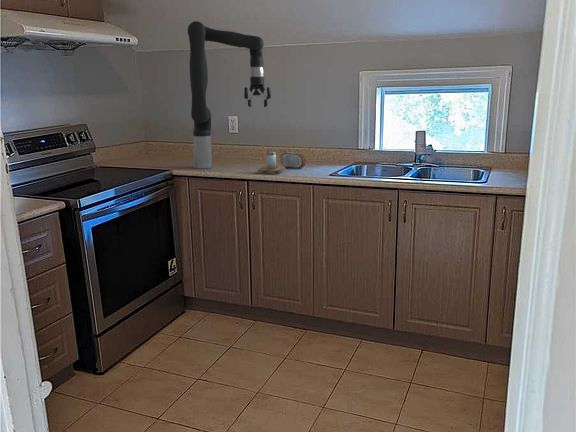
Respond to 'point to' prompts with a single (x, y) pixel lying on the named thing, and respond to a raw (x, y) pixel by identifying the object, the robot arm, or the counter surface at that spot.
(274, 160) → the jar
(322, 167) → the counter surface
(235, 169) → the counter surface
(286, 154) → the tin
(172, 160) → the counter surface
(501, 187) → the counter surface
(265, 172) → the walnut board
